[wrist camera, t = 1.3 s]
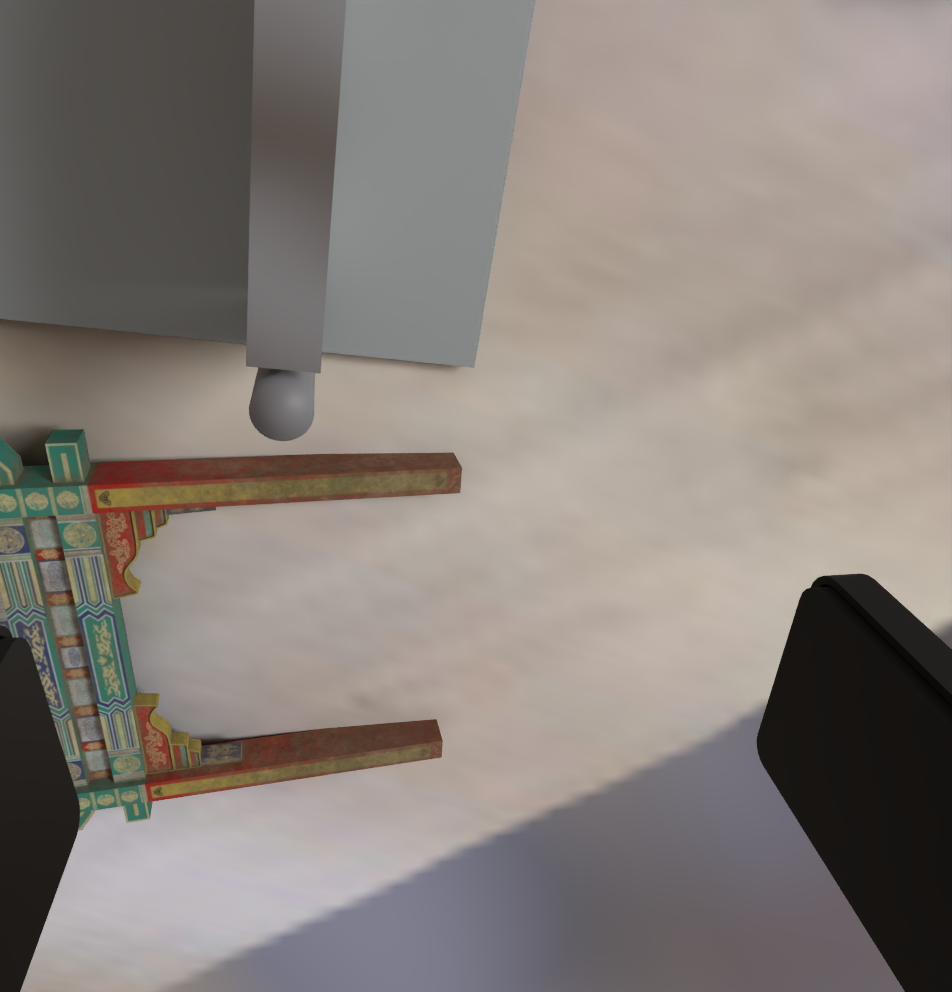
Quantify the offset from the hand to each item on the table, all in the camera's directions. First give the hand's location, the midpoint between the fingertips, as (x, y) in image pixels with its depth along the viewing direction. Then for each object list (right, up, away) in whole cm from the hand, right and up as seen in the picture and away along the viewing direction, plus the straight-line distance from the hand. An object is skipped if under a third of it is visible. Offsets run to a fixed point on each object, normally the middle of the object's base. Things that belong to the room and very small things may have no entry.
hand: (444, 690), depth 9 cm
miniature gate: (-16, -4, +29) cm, 33 cm away
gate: (-6, +17, +17) cm, 25 cm away
